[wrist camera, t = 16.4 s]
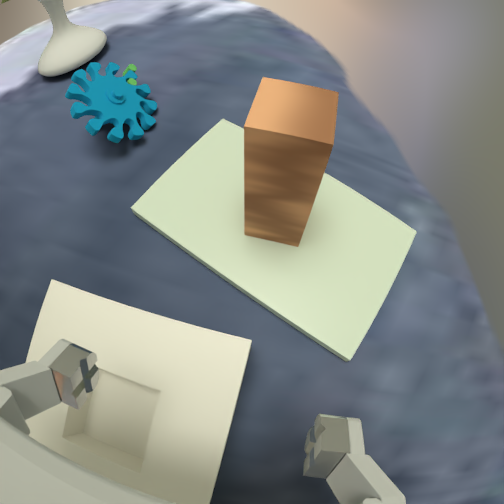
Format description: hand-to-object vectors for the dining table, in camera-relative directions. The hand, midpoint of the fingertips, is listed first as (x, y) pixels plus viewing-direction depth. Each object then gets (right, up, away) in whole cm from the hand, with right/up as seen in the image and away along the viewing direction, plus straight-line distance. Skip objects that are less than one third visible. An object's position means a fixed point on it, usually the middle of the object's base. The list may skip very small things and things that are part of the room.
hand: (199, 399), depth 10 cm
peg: (+4, +8, +14) cm, 16 cm away
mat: (+4, +7, +15) cm, 17 cm away
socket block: (-7, -6, +9) cm, 13 cm away
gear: (-12, +19, +20) cm, 30 cm away
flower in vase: (-25, +33, +26) cm, 49 cm away
